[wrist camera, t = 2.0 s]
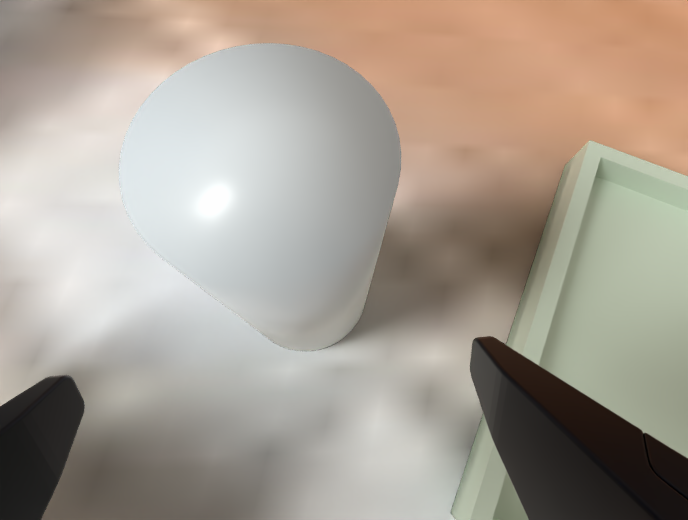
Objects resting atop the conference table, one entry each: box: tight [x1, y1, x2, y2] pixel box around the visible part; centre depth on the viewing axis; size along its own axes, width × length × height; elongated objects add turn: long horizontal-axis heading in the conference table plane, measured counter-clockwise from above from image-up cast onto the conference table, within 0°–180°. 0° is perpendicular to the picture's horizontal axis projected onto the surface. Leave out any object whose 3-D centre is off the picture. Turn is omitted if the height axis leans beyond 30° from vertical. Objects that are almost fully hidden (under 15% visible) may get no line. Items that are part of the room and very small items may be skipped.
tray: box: [450, 140, 688, 520], centre depth 19 cm, size 20×12×2 cm, turn 155°
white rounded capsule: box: [119, 43, 401, 351], centre depth 15 cm, size 6×6×13 cm
